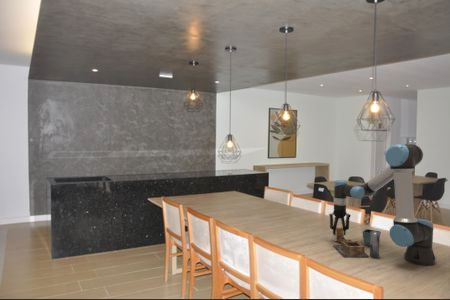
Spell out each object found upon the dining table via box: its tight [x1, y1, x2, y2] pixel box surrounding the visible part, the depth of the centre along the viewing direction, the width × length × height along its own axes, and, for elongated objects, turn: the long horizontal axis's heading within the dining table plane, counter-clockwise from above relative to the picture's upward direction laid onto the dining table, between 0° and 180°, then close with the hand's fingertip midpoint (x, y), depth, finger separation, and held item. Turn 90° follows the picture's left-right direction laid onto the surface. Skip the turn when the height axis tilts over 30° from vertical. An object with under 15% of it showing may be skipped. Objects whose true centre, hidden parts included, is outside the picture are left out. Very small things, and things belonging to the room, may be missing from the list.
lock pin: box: [335, 226, 352, 246], centre depth 211 cm, size 4×20×9 cm, turn 0°
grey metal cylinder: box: [369, 230, 381, 259], centre depth 193 cm, size 5×5×14 cm
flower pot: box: [362, 228, 382, 247], centre depth 213 cm, size 9×9×9 cm
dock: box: [332, 238, 370, 259], centre depth 201 cm, size 14×19×6 cm
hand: (338, 239), depth 220 cm, fingers closed on lock pin, 4 cm apart
